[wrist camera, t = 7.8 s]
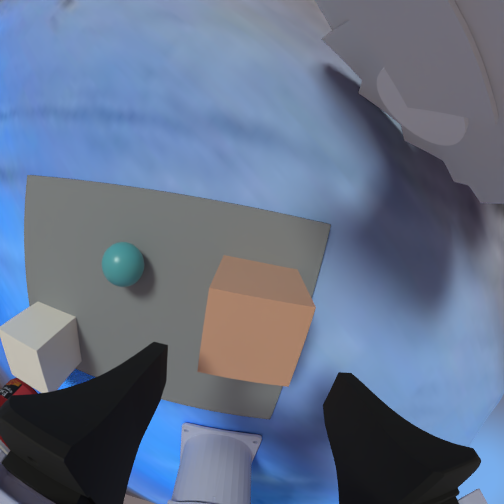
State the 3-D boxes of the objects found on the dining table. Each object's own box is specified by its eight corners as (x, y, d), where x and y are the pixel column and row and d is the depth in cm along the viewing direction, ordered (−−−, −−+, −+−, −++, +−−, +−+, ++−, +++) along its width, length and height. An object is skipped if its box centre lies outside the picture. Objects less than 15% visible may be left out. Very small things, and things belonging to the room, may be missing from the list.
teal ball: (148, 282, 19) (132, 298, 16) (113, 273, 19) (93, 287, 16) (152, 242, 18) (135, 252, 15) (115, 234, 18) (94, 243, 15)
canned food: (18, 369, 23) (-27, 414, 12) (58, 413, 24) (22, 466, 13) (8, 384, 24) (-29, 424, 13) (43, 423, 25) (12, 467, 15)
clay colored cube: (280, 333, 19) (288, 386, 14) (212, 320, 19) (197, 371, 13) (297, 269, 18) (315, 307, 12) (223, 255, 18) (209, 287, 12)
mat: (269, 415, 22) (269, 419, 22) (40, 348, 21) (38, 350, 21) (329, 223, 18) (330, 225, 18) (31, 175, 17) (27, 175, 17)
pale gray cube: (81, 360, 21) (50, 397, 15) (45, 344, 21) (12, 374, 15) (75, 316, 20) (36, 350, 14) (37, 301, 19) (-2, 328, 14)
